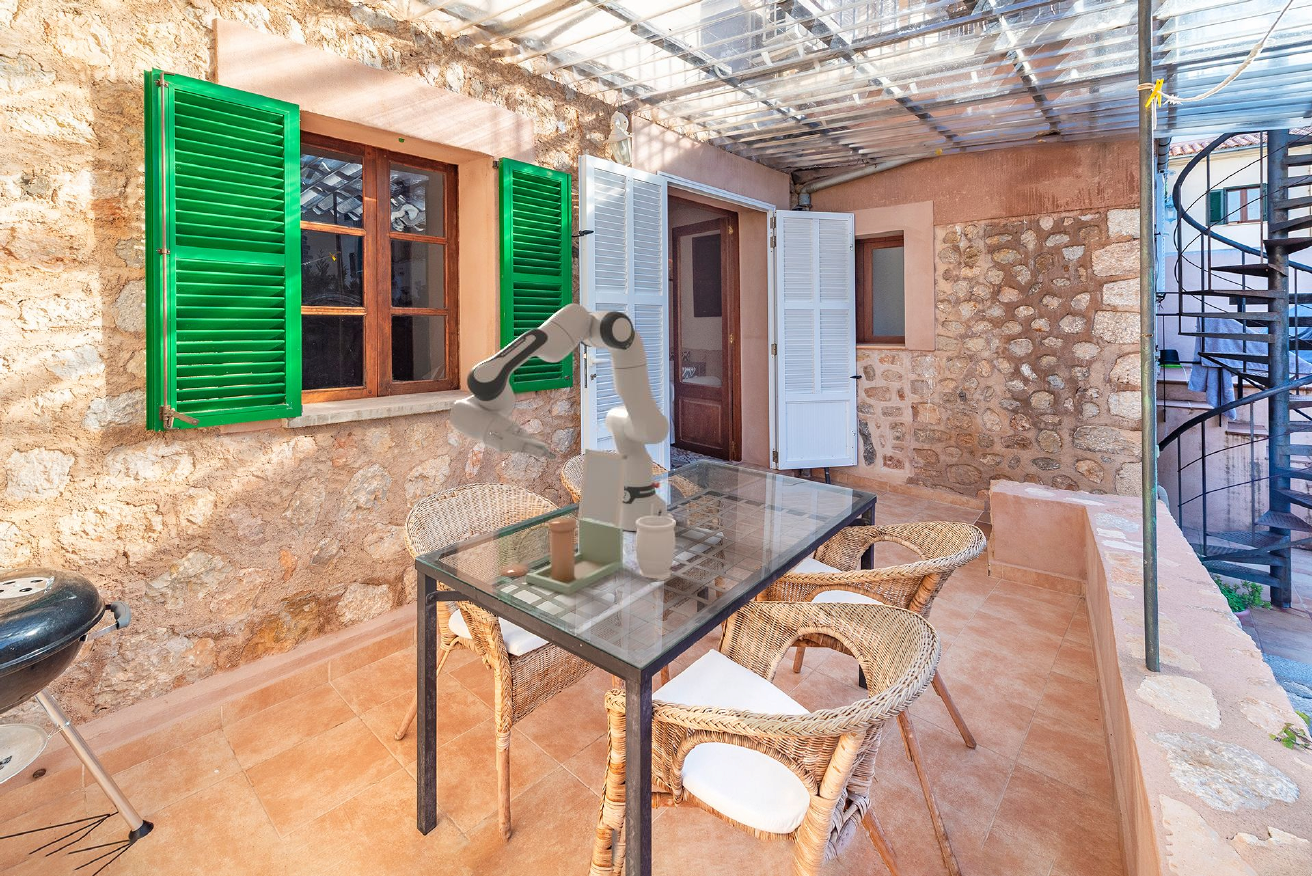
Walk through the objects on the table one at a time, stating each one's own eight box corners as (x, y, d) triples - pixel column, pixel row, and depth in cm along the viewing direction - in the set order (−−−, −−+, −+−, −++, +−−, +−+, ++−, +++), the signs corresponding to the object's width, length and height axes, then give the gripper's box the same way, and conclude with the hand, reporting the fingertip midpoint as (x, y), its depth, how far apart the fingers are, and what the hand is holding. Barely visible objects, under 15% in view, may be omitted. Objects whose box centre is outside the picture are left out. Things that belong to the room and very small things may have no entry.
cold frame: (581, 559, 179) (581, 518, 177) (622, 570, 171) (622, 527, 169) (526, 585, 160) (525, 539, 158) (568, 598, 153) (568, 550, 151)
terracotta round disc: (514, 567, 172) (514, 562, 172) (535, 573, 168) (535, 568, 168) (493, 575, 166) (493, 571, 166) (514, 582, 162) (514, 577, 162)
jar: (648, 565, 175) (649, 512, 173) (681, 573, 170) (683, 519, 167) (627, 578, 166) (627, 522, 164) (661, 586, 161) (662, 529, 158)
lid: (577, 517, 175) (579, 517, 175) (618, 526, 168) (619, 526, 168) (585, 448, 174) (587, 449, 175) (626, 455, 167) (627, 455, 168)
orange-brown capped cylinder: (561, 571, 167) (560, 515, 165) (581, 576, 164) (581, 520, 161) (543, 579, 162) (542, 522, 159) (564, 585, 158) (563, 527, 156)
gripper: (491, 419, 159) (538, 441, 156) (524, 428, 179) (566, 448, 176) (481, 442, 159) (528, 465, 156) (514, 449, 179) (557, 469, 176)
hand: (549, 456), depth 166 cm, fingers open, 8 cm apart
